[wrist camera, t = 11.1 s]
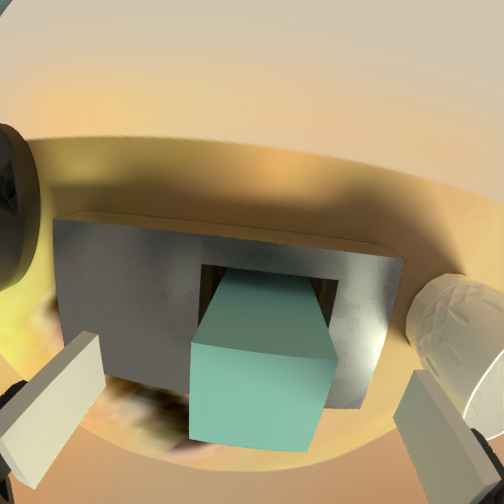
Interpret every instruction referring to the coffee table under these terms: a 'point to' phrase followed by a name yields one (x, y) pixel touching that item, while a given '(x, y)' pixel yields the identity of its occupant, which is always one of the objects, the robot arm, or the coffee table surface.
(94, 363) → the robot arm
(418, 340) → the white cup
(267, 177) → the coffee table surface
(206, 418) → the teal block
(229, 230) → the grey slotted board
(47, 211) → the coffee table surface
